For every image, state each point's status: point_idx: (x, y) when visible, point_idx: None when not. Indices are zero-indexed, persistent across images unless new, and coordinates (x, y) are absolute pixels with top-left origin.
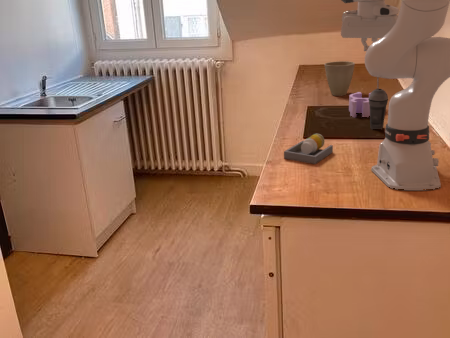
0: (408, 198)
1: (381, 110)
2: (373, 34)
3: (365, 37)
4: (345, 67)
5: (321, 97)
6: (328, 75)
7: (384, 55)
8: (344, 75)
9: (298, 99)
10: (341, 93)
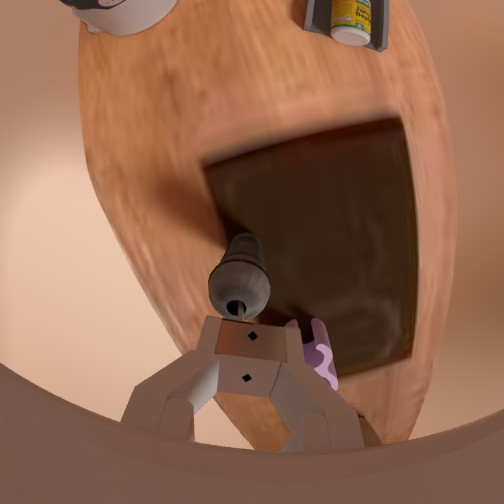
0: None
1: (226, 255)
2: (112, 476)
3: (295, 456)
4: None
5: (383, 404)
6: (379, 442)
7: None
8: None
9: (421, 384)
10: None
